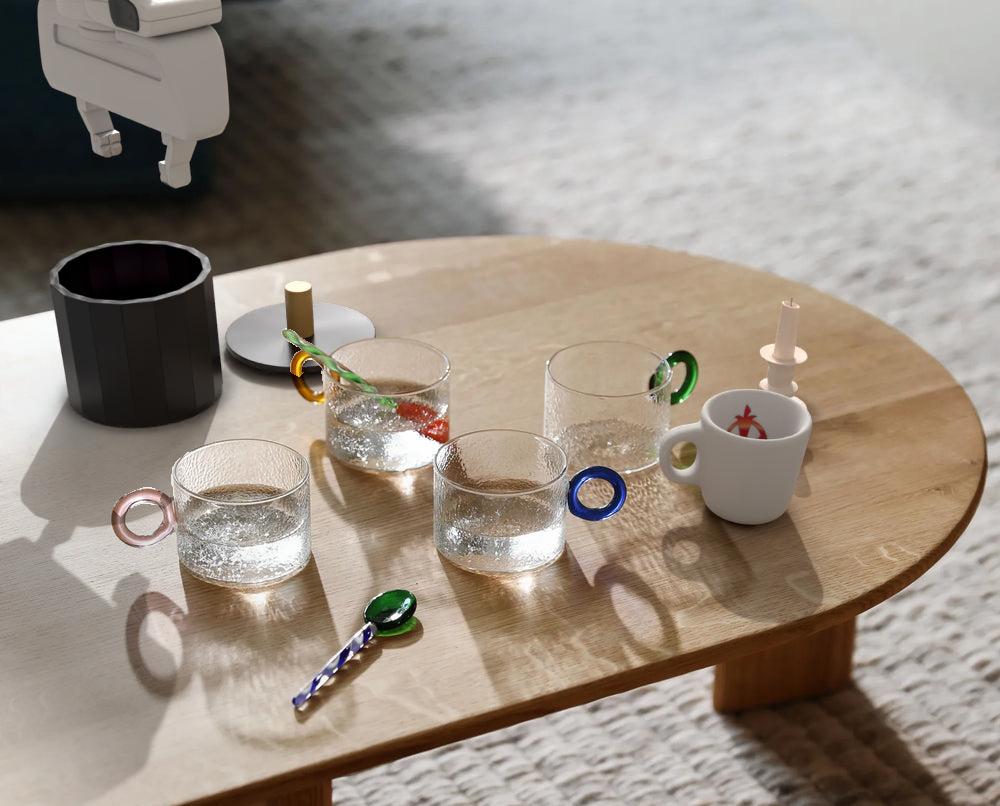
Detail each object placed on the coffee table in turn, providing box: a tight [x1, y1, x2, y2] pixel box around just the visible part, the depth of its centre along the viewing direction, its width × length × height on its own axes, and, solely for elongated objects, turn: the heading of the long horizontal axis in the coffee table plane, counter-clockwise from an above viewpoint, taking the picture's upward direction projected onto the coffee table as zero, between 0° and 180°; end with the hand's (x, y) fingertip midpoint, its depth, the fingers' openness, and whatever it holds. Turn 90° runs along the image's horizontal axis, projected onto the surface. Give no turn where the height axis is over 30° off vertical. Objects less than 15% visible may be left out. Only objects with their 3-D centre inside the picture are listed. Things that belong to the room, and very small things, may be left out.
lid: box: [224, 280, 377, 374], centre depth 125 cm, size 13×13×6 cm
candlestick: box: [758, 297, 808, 410], centre depth 115 cm, size 5×5×10 cm
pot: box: [48, 239, 224, 429], centre depth 115 cm, size 13×13×11 cm
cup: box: [658, 388, 813, 526], centre depth 103 cm, size 11×8×8 cm
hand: (141, 168), depth 109 cm, fingers open, 8 cm apart
